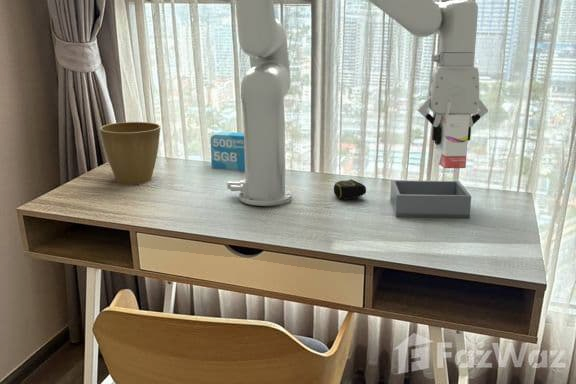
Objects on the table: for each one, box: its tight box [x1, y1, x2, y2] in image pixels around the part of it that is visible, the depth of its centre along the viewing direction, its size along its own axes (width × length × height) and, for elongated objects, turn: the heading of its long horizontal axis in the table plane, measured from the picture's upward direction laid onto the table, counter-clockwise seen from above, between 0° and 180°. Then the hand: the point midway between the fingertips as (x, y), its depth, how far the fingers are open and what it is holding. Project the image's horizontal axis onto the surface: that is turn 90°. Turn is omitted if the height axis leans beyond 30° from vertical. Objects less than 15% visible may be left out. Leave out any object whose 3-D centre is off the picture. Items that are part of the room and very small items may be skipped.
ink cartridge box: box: [433, 101, 470, 170], centre depth 134 cm, size 9×5×15 cm, turn 4°
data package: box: [210, 131, 245, 172], centre depth 168 cm, size 12×4×12 cm, turn 73°
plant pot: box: [99, 121, 161, 186], centre depth 157 cm, size 15×15×16 cm
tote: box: [389, 179, 472, 219], centre depth 139 cm, size 16×13×5 cm
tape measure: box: [333, 178, 367, 200], centre depth 147 cm, size 7×7×4 cm
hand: (450, 142), depth 135 cm, fingers closed on ink cartridge box, 5 cm apart
